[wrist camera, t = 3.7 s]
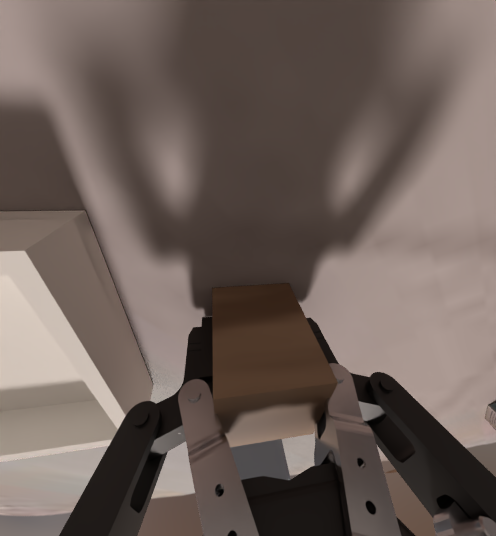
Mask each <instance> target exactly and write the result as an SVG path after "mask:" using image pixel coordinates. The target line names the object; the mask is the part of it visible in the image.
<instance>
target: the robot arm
mask: <svg viewBox="0 0 496 536" xmlns="http://www.w3.org/2000/svg"><path fill="white" fill-rule="evenodd" d="M306 319H307V321H308V323H309V325H310V327H311V329H312V331H313V333H314V335H315V337H316V339H317V341H318V343H319V345H320V347H321V349H322V351H323V353H324V355H325V357H326V359H327V361H328V363H329V365H330V367H331V370H332V372H333V374H334V376H335V378H336V380H337V382H338V384H337V386H336V388H335V390H334V392H333V394H332V396H331V398H327V399H326V401H325V403H324V406H325V411H324V413H323V415H322V417H321V419H320V420H316V422H315V424H314V428H315V452H314V462H315V466H312V467H310V468H309V469H307V470H305V471H304V472H302V473H301V474H299V475H297V476H296V477H294V478H293V479H291V480H284V479H279V478H273V477H267V476H259V477H254V478H248V479H243V480H241V479H240V476H239V473H238V470H237V467H236V464H235V461H234V458H233V454H232V451H231V448H230V445H229V442H228V440H227V437H226V435H225V434H224V432H223V429H222V426H221V423H220V420H219V417H218V414H215V413H214V404H213V327H212V317H202V327H194V328H193V329H192V331H191V332H190V334H189V337H188V347H187V356H186V365H185V375H184V381H183V384H182V386H181V388H180V389H179V390H178V391H177V392H176V393H175V394H174V395H173V396H171V397H169V398H167V399H165V400H163V401H161V402H159V403H157V404H155V403H154V402H151V401H144V402H141V403H138V404H137V405H135V406H134V407H132V408H131V409H130V410H129V412H128V413H127V414H126V416H125V418H124V420H123V421H122V423H121V425H120V427H119V429H118V430H117V432H116V434H115V436H114V438H113V439H112V441H111V443H110V445H109V447H108V448H107V450H106V452H105V454H104V456H103V458H102V459H101V461H100V463H99V465H98V467H97V468H96V470H95V472H94V474H93V476H92V477H91V479H90V481H89V483H88V485H87V486H86V488H85V490H84V492H83V494H82V495H81V497H80V499H79V501H78V503H77V504H76V506H75V508H74V510H73V512H72V513H71V515H70V517H69V519H68V521H67V523H66V524H65V526H64V528H63V530H62V532H61V533H60V535H59V536H137V535H138V532H139V529H140V527H141V524H142V521H143V518H144V515H145V513H146V510H147V507H148V505H149V502H150V499H151V496H152V494H153V491H154V488H155V485H156V482H157V480H158V477H159V474H160V471H161V469H162V466H163V463H164V460H165V458H166V455H167V452H168V451H169V450H171V449H173V448H175V447H176V446H178V445H180V444H182V443H183V442H185V441H186V443H187V448H188V456H189V462H190V468H191V473H192V478H193V483H194V488H195V494H196V498H197V503H198V509H199V514H200V519H201V525H202V530H203V536H415V535H414V534H413V533H412V532H411V531H410V530H409V529H408V528H407V527H406V526H405V525H404V524H403V523H402V522H401V521H400V520H399V519H398V518H397V517H396V514H395V510H394V507H393V503H392V500H391V496H390V493H389V489H388V485H387V482H386V478H385V474H384V471H383V467H382V463H381V460H380V456H379V452H378V449H377V445H378V447H379V448H380V449H381V451H382V452H383V453H384V455H385V456H386V457H387V458H388V460H389V461H390V462H391V464H392V465H393V466H394V468H395V469H396V470H397V472H398V473H399V474H400V475H401V477H402V478H403V479H404V481H405V482H406V483H407V485H408V486H409V487H410V488H411V490H412V491H413V492H414V494H415V495H416V496H417V497H418V499H419V500H420V501H421V503H422V504H423V505H424V507H425V508H426V509H427V510H428V512H429V513H430V514H431V516H432V517H433V519H434V527H435V531H436V536H496V477H495V476H494V475H493V474H492V473H491V472H490V471H488V470H487V469H486V468H485V467H484V466H483V465H482V464H481V463H480V462H479V461H478V460H477V459H476V458H475V457H474V456H473V455H472V454H471V453H470V452H469V451H468V450H467V449H466V448H465V447H464V446H463V445H462V444H461V443H460V442H459V441H458V440H457V439H455V438H454V437H453V436H452V435H451V434H450V433H449V432H448V431H447V430H446V429H445V428H444V427H443V426H442V425H441V424H440V423H439V422H438V421H437V420H436V419H435V418H434V417H433V416H432V415H431V414H430V413H429V412H428V411H427V410H426V409H425V408H424V407H422V406H421V405H420V404H419V403H418V402H417V401H416V400H415V399H414V398H413V397H412V396H411V395H410V394H409V393H408V392H407V391H406V390H405V389H404V388H403V387H402V386H401V385H400V384H399V383H398V382H397V381H396V380H395V379H393V378H392V377H391V376H389V375H387V374H385V373H381V372H375V373H373V374H372V375H371V376H370V377H366V376H361V375H356V374H352V373H350V372H349V371H348V370H347V369H346V368H345V367H343V366H342V365H340V364H339V363H338V362H337V360H336V358H335V356H334V355H333V353H332V351H331V349H330V347H329V345H328V343H327V342H326V340H325V339H324V336H323V334H322V333H321V330H320V329H319V327H318V325H317V323H315V322H314V321H313V320H312V319H311V318H306ZM376 444H377V445H376Z"/></svg>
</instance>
